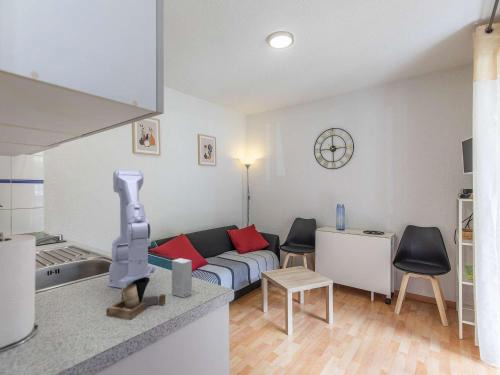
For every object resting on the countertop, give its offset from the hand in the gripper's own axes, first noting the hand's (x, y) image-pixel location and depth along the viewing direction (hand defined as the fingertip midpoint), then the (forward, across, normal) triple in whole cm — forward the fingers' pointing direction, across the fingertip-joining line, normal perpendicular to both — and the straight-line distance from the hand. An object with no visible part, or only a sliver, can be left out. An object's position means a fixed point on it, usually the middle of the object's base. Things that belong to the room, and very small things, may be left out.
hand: (138, 301), depth 84 cm
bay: (+1, -4, 0) cm, 4 cm away
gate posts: (+1, +3, 0) cm, 3 cm away
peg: (0, -2, 0) cm, 3 cm away
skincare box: (+1, +12, -9) cm, 15 cm away
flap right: (+1, +1, -4) cm, 4 cm away
